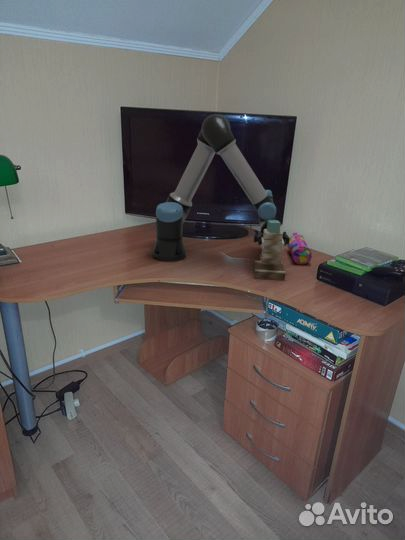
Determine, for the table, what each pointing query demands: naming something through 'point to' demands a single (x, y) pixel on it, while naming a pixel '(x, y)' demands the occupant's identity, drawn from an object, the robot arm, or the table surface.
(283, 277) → the dock
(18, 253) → the table surface
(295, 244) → the pencil case
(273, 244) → the wooden block tower
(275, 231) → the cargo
